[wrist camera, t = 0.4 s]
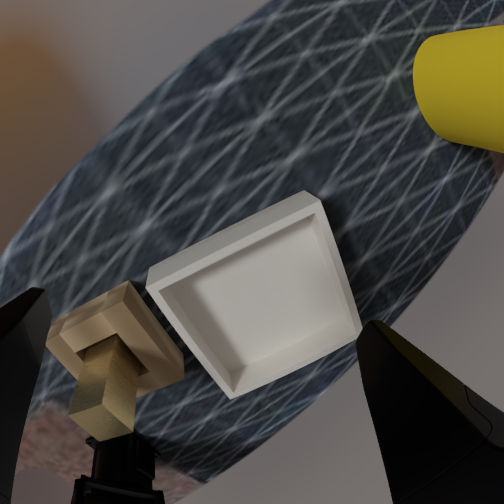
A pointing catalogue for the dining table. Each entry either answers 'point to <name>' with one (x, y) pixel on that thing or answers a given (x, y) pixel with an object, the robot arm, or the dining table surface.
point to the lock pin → (106, 389)
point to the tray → (260, 295)
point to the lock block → (128, 328)
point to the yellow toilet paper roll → (463, 86)
